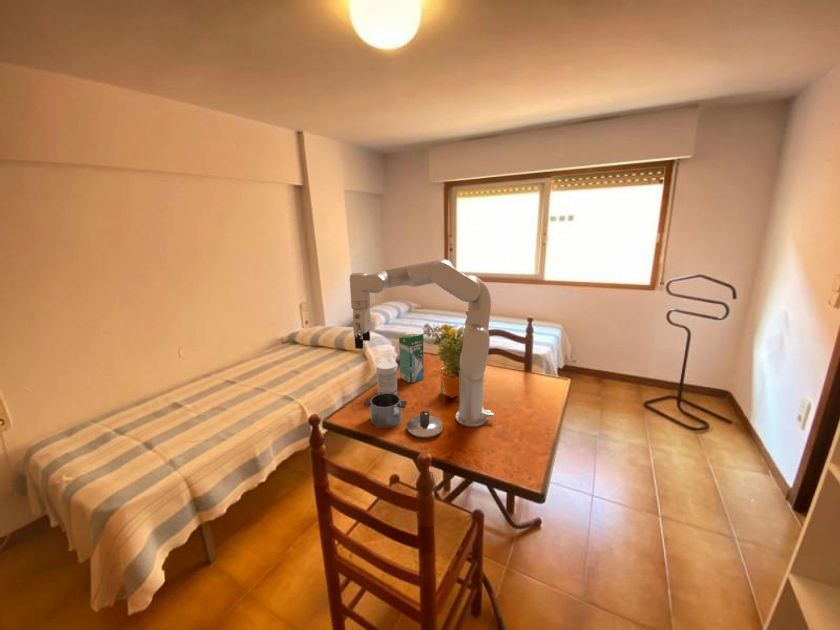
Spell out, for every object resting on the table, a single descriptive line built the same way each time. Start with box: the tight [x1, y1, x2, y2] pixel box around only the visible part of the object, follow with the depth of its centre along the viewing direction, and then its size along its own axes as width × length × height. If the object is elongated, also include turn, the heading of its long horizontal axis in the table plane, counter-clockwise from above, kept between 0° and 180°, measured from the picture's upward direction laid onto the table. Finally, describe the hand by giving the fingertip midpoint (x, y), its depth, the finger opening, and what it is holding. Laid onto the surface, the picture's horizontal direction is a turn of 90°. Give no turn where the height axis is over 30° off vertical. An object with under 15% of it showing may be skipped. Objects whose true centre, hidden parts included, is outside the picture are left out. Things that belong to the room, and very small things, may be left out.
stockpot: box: [363, 393, 408, 429], centre depth 140 cm, size 17×13×9 cm
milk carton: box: [398, 332, 425, 384], centre depth 177 cm, size 9×9×25 cm
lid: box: [406, 410, 444, 439], centre depth 133 cm, size 14×14×7 cm
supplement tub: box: [375, 361, 398, 395], centre depth 162 cm, size 10×10×15 cm
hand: (362, 344), depth 140 cm, fingers open, 9 cm apart
